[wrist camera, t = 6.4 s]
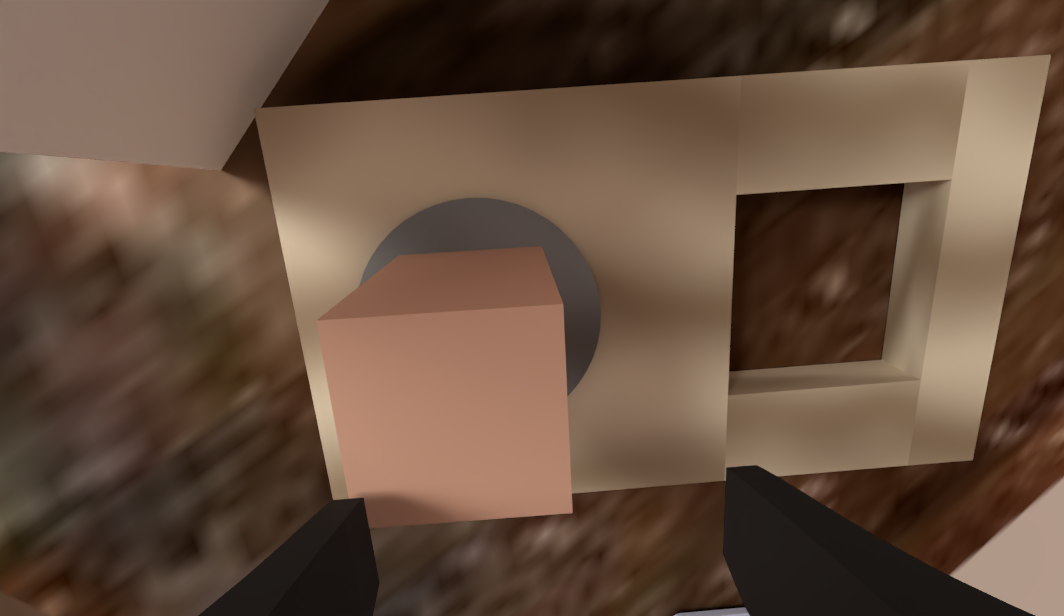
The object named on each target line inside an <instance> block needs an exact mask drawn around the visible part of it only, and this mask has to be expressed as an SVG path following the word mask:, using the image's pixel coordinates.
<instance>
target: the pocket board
mask: <svg viewBox="0 0 1064 616" xmlns="http://www.w3.org/2000/svg"><path fill="white" fill-rule="evenodd" d="M1050 58H1051V55H1041V56H1026V57H1011V58H996V59H981V60H966V61H952V62H937V63H922V64H907V65H892V66H877V67H863V68H848V69H833V70H818V71H803V72H788V73H773V74H759V75H744V76H729V77H714V78H699V79H684V80H669V81H655V82H640V83H625V84H610V85H595V86H580V87H566V88H551V89H536V90H521V91H506V92H491V93H476V94H462V95H447V96H432V97H417V98H402V99H387V100H373V101H358V102H343V103H328V104H313V105H298V106H283V107H269V108H254V113H255V118H256V123H257V128H258V133H259V138H260V143H261V147H262V152H263V157H264V162H265V167H266V172H267V177H268V182H269V187H270V192H271V197H272V201H273V206H274V211H275V216H276V221H277V226H278V231H279V236H280V241H281V246H282V251H283V255H284V260H285V265H286V270H287V275H288V280H289V285H290V290H291V295H292V300H293V305H294V309H295V314H296V319H297V324H298V329H299V334H300V339H301V344H302V349H303V354H304V359H305V364H306V368H307V373H308V378H309V383H310V388H311V393H312V398H313V403H314V408H315V413H316V418H317V422H318V427H319V432H320V437H321V442H322V447H323V452H324V457H325V462H326V467H327V472H328V476H329V481H330V486H331V491H332V496H333V500H338V499H349V498H348V492H347V487H346V481H345V476H344V470H343V465H342V460H341V454H340V449H339V443H338V438H337V432H336V427H335V421H334V416H333V411H332V405H331V400H330V394H329V389H328V383H327V378H326V372H325V367H324V362H323V356H322V351H321V345H320V340H319V334H318V329H317V323H316V320H317V319H319V318H320V317H321V316H322V315H324V314H325V313H326V312H328V311H329V310H330V309H331V308H333V307H334V306H335V305H336V304H338V303H339V302H340V301H342V300H343V299H344V298H345V297H347V296H348V295H349V294H350V293H352V292H353V291H354V290H355V289H357V288H358V287H359V286H361V285H362V284H363V283H364V282H366V281H367V280H368V279H369V278H371V277H372V276H373V275H374V274H376V273H377V272H378V271H380V270H381V269H382V268H383V267H385V266H386V265H387V264H388V263H390V262H391V261H392V260H393V259H395V258H396V257H397V256H399V255H411V254H426V253H441V252H457V251H472V250H488V249H503V248H518V247H534V246H542V249H543V251H544V254H545V257H546V259H547V262H548V265H549V267H550V270H551V273H552V275H553V278H554V280H555V283H556V286H557V288H558V291H559V294H560V296H561V299H562V302H563V308H564V330H565V353H566V376H567V399H568V422H569V444H570V467H571V490H572V493H583V492H595V491H607V490H619V489H631V488H643V487H655V486H667V485H679V484H691V483H703V482H715V481H726V467H738V466H751V465H758V466H759V467H761V468H763V469H765V470H767V471H769V472H770V473H772V474H774V475H775V476H788V475H800V474H812V473H824V472H836V471H848V470H860V469H872V468H884V467H896V466H908V465H920V464H932V463H944V462H956V461H968V460H973V456H974V451H975V445H976V440H977V435H978V430H979V425H980V420H981V414H982V409H983V404H984V399H985V394H986V389H987V383H988V378H989V373H990V368H991V363H992V358H993V352H994V347H995V342H996V337H997V332H998V326H999V321H1000V316H1001V311H1002V306H1003V301H1004V295H1005V290H1006V285H1007V280H1008V275H1009V270H1010V264H1011V259H1012V254H1013V249H1014V244H1015V239H1016V233H1017V228H1018V223H1019V218H1020V213H1021V208H1022V202H1023V197H1024V192H1025V187H1026V182H1027V177H1028V171H1029V166H1030V161H1031V156H1032V151H1033V146H1034V140H1035V135H1036V130H1037V125H1038V120H1039V115H1040V109H1041V104H1042V99H1043V94H1044V89H1045V84H1046V78H1047V73H1048V68H1049V63H1050ZM895 183H904V191H903V199H902V207H901V214H900V222H899V230H898V237H897V245H896V253H895V261H894V268H893V276H892V284H891V291H890V299H889V307H888V315H887V322H886V330H885V338H884V345H883V353H882V360H871V361H858V362H845V363H833V364H820V365H807V366H795V367H782V368H769V369H757V370H744V371H731V372H729V358H730V334H731V310H732V286H733V262H734V238H735V214H736V195H742V194H756V193H770V192H784V191H798V190H812V189H826V188H839V187H853V186H867V185H881V184H895Z"/></svg>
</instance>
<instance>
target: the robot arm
mask: <svg viewBox="0 0 1064 616" xmlns="http://www.w3.org/2000/svg"><path fill="white" fill-rule="evenodd" d="M723 555H724V557H725V560H726V562H727V565H728V567H729V570H730V572H731V575H732V577H733V580H734V582H735V585H736V587H737V589H738V592H739V594H740V597H741V599H742V601H743V604H744V606H745V607H743V608H731V609H720V610H709V611H697V612H686V613H678V614H675V615H674V616H1035V615H1032V614H1030V613H1028V612H1026V611H1023V610H1021V609H1019V608H1016V607H1014V606H1012V605H1010V604H1008V603H1006V602H1004V601H1001V600H999V599H997V598H995V597H993V596H991V595H989V594H987V593H984V592H982V591H980V590H978V589H976V588H974V587H972V586H970V585H968V584H966V583H963V582H961V581H959V580H957V579H955V578H953V577H951V576H949V575H947V574H945V573H943V572H941V571H939V570H937V569H935V568H933V567H931V566H930V565H928V564H926V563H924V562H922V561H920V560H918V559H917V558H915V557H913V556H911V555H909V554H907V553H906V552H904V551H902V550H900V549H898V548H896V547H894V546H893V545H891V544H889V543H887V542H885V541H884V540H882V539H880V538H878V537H877V536H875V535H873V534H871V533H870V532H868V531H866V530H864V529H863V528H861V527H859V526H858V525H856V524H854V523H852V522H851V521H849V520H847V519H846V518H844V517H842V516H841V515H839V514H837V513H836V512H834V511H832V510H831V509H829V508H828V507H826V506H824V505H823V504H821V503H819V502H818V501H816V500H815V499H813V498H811V497H810V496H808V495H806V494H805V493H803V492H802V491H800V490H798V489H797V488H795V487H793V486H792V485H790V484H789V483H787V482H785V481H784V480H782V479H780V478H779V477H777V476H775V475H774V474H772V473H770V472H769V471H767V470H765V469H763V468H761V467H759V466H758V465H751V466H738V467H726V487H725V515H724V543H723ZM378 587H379V578H378V573H377V567H376V562H375V557H374V551H373V546H372V540H371V535H370V529H369V524H368V519H367V513H366V508H365V502H364V497H363V498H351V499H338V500H332V501H331V502H330V503H328V504H327V505H326V506H325V507H324V508H322V509H321V510H320V511H319V512H318V513H317V514H315V515H314V516H313V517H312V518H311V519H310V520H309V521H308V522H306V523H305V524H304V525H303V526H302V527H301V528H300V529H299V530H298V531H297V532H295V533H294V534H293V535H292V536H291V537H290V538H289V539H288V540H287V541H285V542H284V543H283V544H282V545H281V546H280V547H279V548H278V549H276V550H275V551H274V552H273V553H272V554H271V555H270V556H269V557H267V558H266V559H265V560H264V561H263V562H262V563H261V564H260V565H258V566H257V567H256V568H255V569H254V570H253V571H252V572H250V573H249V574H248V575H247V576H246V577H245V578H243V579H242V580H241V581H240V582H239V583H237V584H236V585H235V586H234V587H233V588H231V589H230V590H229V591H228V592H226V593H225V594H224V595H223V596H222V597H220V598H219V599H218V600H217V601H216V602H214V603H213V604H212V605H211V606H209V607H208V608H207V609H206V610H205V611H203V612H202V613H201V614H200V615H199V616H373V612H374V607H375V602H376V597H377V592H378Z"/></svg>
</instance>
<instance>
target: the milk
mask: <svg viewBox="0 0 1064 616" xmlns="http://www.w3.org/2000/svg"><path fill="white" fill-rule="evenodd" d="M328 2H329V0H0V152H11V153H22V154H34V155H46V156H58V157H70V158H82V159H94V160H106V161H117V162H129V163H141V164H153V165H165V166H177V167H189V168H201V169H212V170H222V168H223V166H224V165H225V163H226V162H227V160H228V159H229V157H230V155H231V154H232V152H233V151H234V149H235V148H236V146H237V144H238V143H239V141H240V140H241V138H242V137H243V135H244V133H245V132H246V130H247V129H248V127H249V126H250V124H251V123H252V121H253V119H254V118H255V113H254V108H261V107H262V105H263V104H264V102H265V101H266V99H267V97H268V96H269V94H270V93H271V91H272V90H273V88H274V87H275V85H276V83H277V82H278V80H279V79H280V77H281V76H282V74H283V72H284V71H285V69H286V68H287V66H288V65H289V63H290V61H291V60H292V58H293V57H294V55H295V54H296V52H297V51H298V49H299V47H300V46H301V44H302V43H303V41H304V40H305V38H306V36H307V35H308V33H309V32H310V30H311V29H312V27H313V25H314V24H315V22H316V21H317V19H318V18H319V16H320V15H321V13H322V11H323V10H324V8H325V7H326V5H327V4H328Z"/></svg>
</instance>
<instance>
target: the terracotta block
mask: <svg viewBox="0 0 1064 616" xmlns="http://www.w3.org/2000/svg"><path fill="white" fill-rule="evenodd" d="M316 323H317V329H318V334H319V340H320V345H321V351H322V356H323V362H324V367H325V372H326V378H327V383H328V389H329V394H330V400H331V405H332V411H333V416H334V421H335V427H336V432H337V438H338V443H339V449H340V454H341V460H342V465H343V470H344V476H345V481H346V487H347V492H348V498H349V499H351V498H363V497H364V502H365V508H366V513H367V519H368V524H369V528H381V527H395V526H408V525H421V524H434V523H447V522H460V521H473V520H486V519H499V518H512V517H525V516H538V515H551V514H564V513H572V490H571V467H570V444H569V422H568V399H567V376H566V353H565V330H564V308H563V302H562V299H561V296H560V294H559V291H558V288H557V286H556V283H555V280H554V278H553V275H552V273H551V270H550V267H549V265H548V262H547V259H546V257H545V254H544V251H543V249H542V246H534V247H518V248H503V249H488V250H472V251H457V252H441V253H426V254H411V255H399V256H397V257H396V258H395V259H393V260H392V261H391V262H390V263H388V264H387V265H386V266H385V267H383V268H382V269H381V270H380V271H378V272H377V273H376V274H374V275H373V276H372V277H371V278H369V279H368V280H367V281H366V282H364V283H363V284H362V285H361V286H359V287H358V288H357V289H355V290H354V291H353V292H352V293H350V294H349V295H348V296H347V297H345V298H344V299H343V300H342V301H340V302H339V303H338V304H336V305H335V306H334V307H333V308H331V309H330V310H329V311H328V312H326V313H325V314H324V315H322V316H321V317H320V318H319V319H317V320H316Z"/></svg>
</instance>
